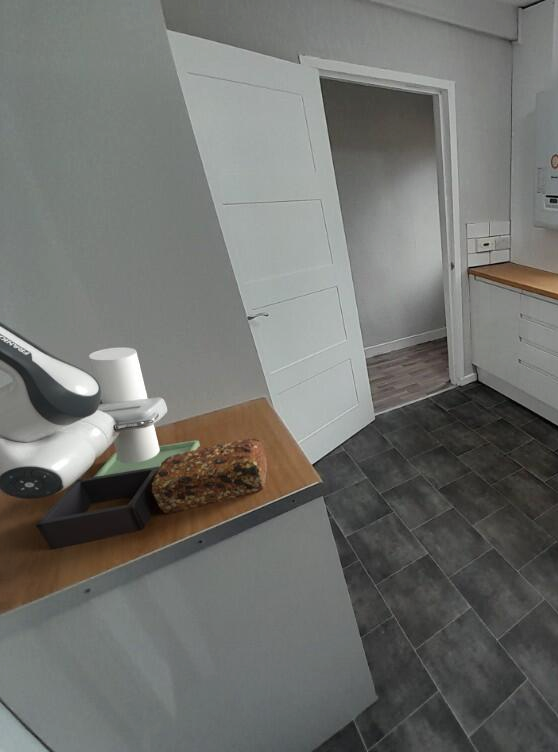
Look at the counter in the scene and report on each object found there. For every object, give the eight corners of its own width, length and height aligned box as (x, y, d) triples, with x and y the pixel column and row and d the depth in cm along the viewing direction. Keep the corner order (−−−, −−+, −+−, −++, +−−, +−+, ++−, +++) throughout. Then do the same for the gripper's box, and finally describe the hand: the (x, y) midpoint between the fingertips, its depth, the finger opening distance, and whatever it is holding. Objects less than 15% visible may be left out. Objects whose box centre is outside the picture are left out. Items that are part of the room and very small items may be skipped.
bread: (270, 465, 98) (260, 430, 94) (265, 494, 89) (253, 457, 85) (176, 485, 91) (160, 449, 87) (160, 519, 82) (142, 480, 78)
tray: (82, 499, 87) (79, 493, 86) (117, 458, 100) (114, 452, 99) (179, 482, 92) (176, 476, 92) (200, 445, 105) (198, 439, 105)
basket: (50, 549, 75) (35, 524, 73) (88, 502, 86) (77, 479, 84) (143, 530, 80) (132, 506, 77) (168, 488, 91) (159, 466, 88)
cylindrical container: (125, 447, 96) (98, 347, 86) (164, 443, 98) (141, 347, 89) (112, 465, 90) (81, 360, 80) (153, 461, 93) (128, 359, 83)
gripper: (146, 409, 80) (172, 380, 92) (6, 427, 73) (54, 393, 85) (157, 437, 82) (181, 405, 94) (23, 456, 76) (67, 420, 88)
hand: (120, 400), depth 89 cm, fingers closed on cylindrical container, 4 cm apart
